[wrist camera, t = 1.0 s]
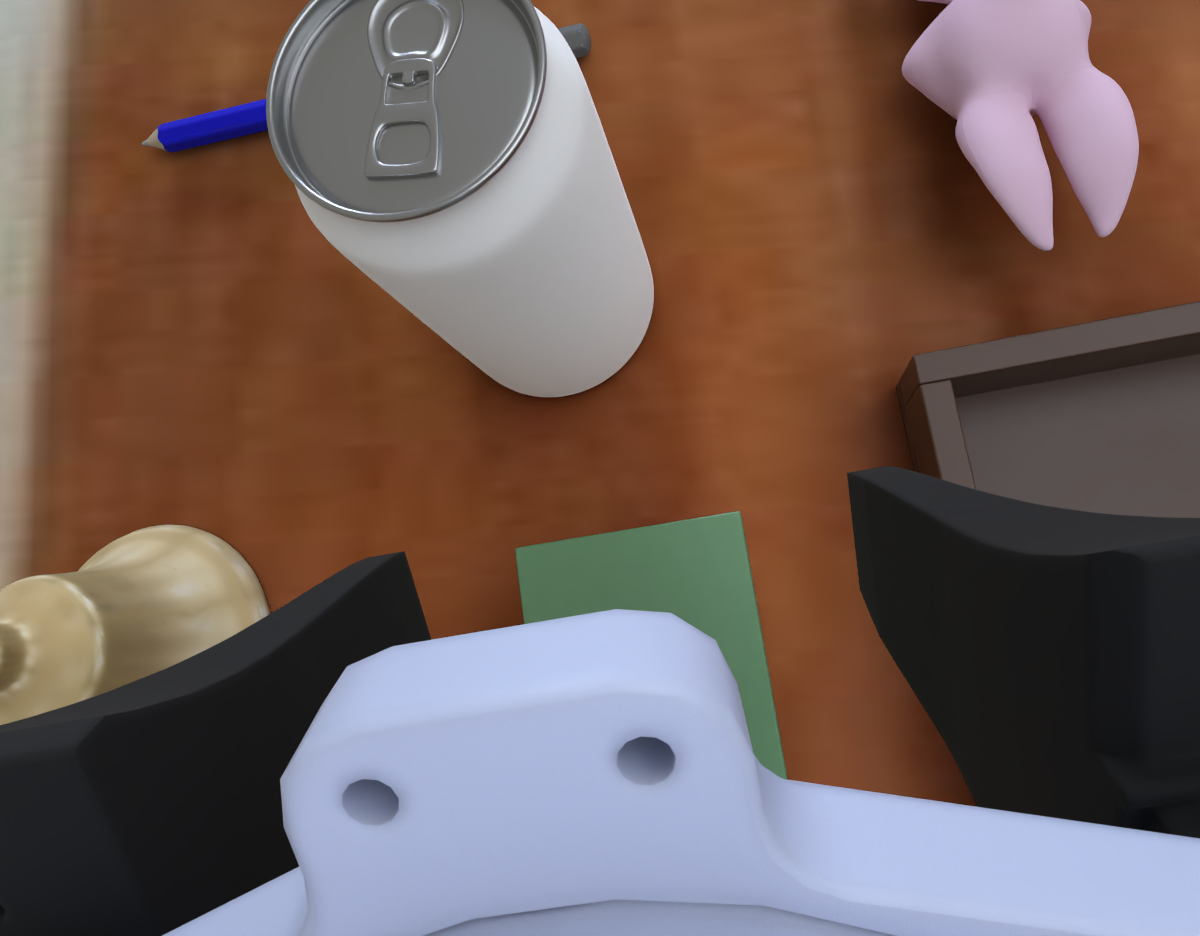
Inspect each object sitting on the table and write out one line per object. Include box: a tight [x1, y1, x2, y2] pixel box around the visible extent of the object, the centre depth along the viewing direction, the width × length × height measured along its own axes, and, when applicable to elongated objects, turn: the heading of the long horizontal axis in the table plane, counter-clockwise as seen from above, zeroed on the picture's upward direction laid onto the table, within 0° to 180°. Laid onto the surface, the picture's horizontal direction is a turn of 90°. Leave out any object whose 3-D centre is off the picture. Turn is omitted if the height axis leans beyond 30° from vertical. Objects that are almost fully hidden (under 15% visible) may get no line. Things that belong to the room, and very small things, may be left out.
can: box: [266, 0, 654, 397], centre depth 21 cm, size 6×6×12 cm
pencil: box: [142, 24, 591, 152], centre depth 29 cm, size 17×1×1 cm, turn 96°
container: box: [515, 511, 788, 780], centre depth 22 cm, size 7×5×6 cm
